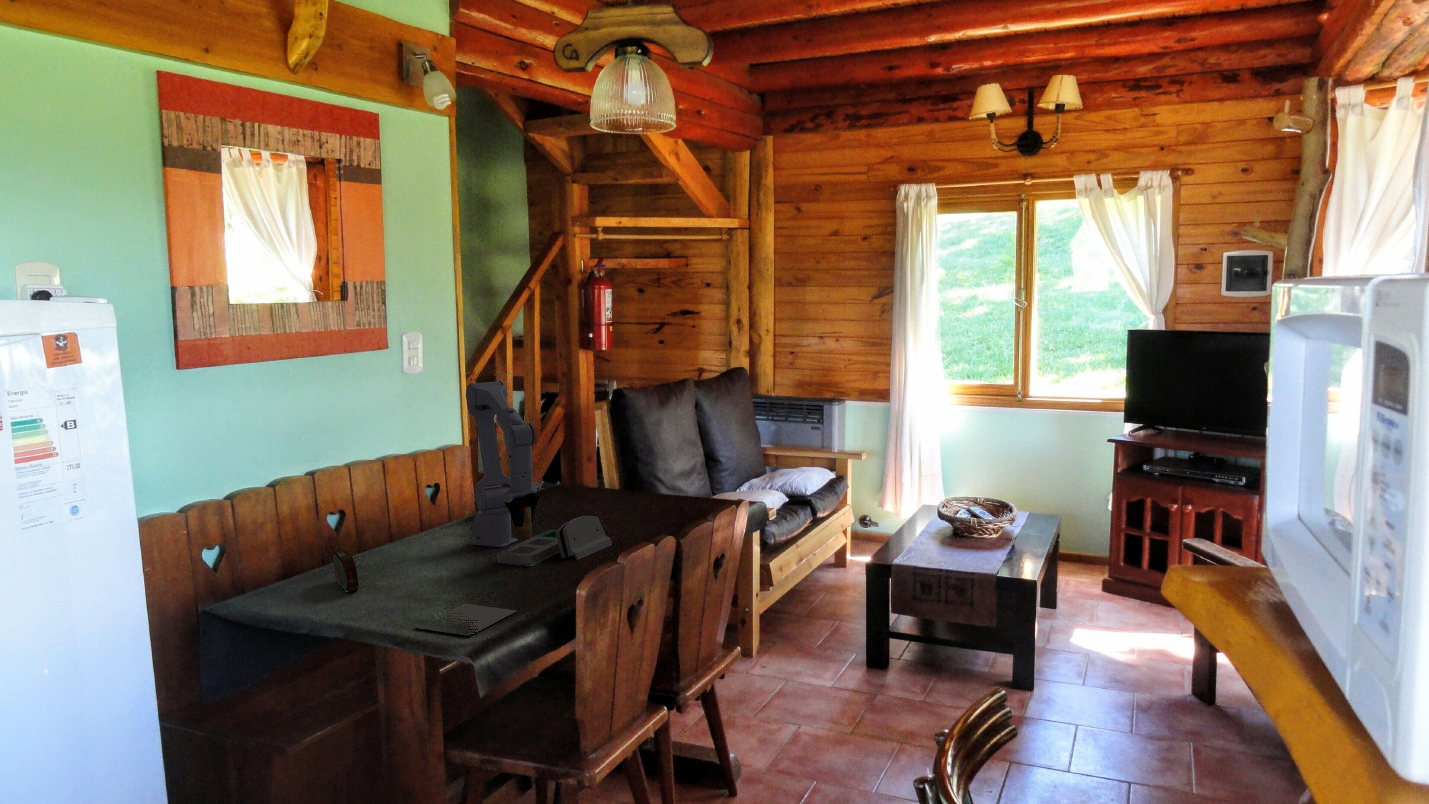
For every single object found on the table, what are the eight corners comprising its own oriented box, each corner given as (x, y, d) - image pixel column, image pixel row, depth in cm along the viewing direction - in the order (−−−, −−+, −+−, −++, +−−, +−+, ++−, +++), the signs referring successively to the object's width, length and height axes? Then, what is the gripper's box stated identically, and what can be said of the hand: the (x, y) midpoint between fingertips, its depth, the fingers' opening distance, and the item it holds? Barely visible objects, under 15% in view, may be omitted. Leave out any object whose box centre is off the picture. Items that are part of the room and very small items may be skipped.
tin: (360, 594, 225) (358, 558, 224) (346, 596, 223) (343, 560, 222) (346, 578, 237) (344, 544, 236) (332, 581, 236) (330, 546, 235)
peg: (513, 539, 249) (511, 508, 248) (521, 535, 252) (520, 504, 252) (526, 540, 247) (525, 509, 246) (535, 536, 251) (533, 505, 250)
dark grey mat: (376, 625, 204) (376, 622, 204) (454, 591, 226) (453, 588, 226) (468, 639, 194) (468, 636, 194) (539, 602, 217) (539, 598, 217)
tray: (497, 563, 248) (496, 553, 247) (550, 537, 272) (550, 529, 271) (531, 566, 244) (531, 556, 244) (582, 540, 268) (582, 531, 268)
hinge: (577, 560, 249) (564, 522, 249) (563, 564, 251) (550, 527, 252) (613, 544, 264) (601, 508, 264) (599, 548, 266) (587, 513, 266)
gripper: (519, 477, 240) (521, 532, 241) (549, 467, 253) (551, 518, 255) (494, 476, 242) (497, 530, 244) (526, 466, 256) (528, 517, 257)
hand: (523, 524), depth 249 cm, fingers closed on peg, 4 cm apart
